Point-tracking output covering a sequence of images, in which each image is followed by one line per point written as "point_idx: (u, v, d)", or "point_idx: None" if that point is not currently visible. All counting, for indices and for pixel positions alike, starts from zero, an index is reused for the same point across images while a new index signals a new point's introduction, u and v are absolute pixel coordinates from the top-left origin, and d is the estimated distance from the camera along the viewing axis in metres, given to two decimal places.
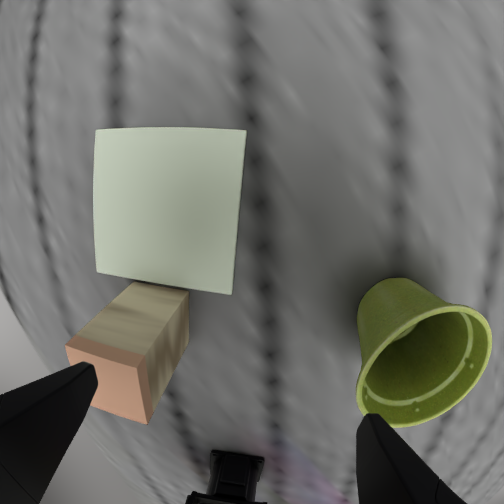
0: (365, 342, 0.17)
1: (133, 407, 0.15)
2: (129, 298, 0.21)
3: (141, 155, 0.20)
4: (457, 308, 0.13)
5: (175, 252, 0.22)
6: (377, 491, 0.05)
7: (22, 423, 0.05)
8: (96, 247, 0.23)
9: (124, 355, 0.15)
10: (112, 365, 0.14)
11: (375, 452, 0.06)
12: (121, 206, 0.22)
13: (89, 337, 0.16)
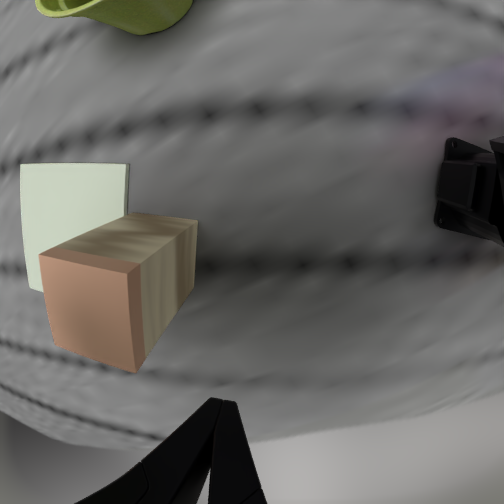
0: (105, 17, 0.11)
1: (98, 284, 0.11)
2: None
3: (37, 248, 0.22)
4: None
5: (93, 222, 0.20)
6: None
7: (176, 491, 0.05)
8: None
9: None
10: (47, 288, 0.11)
11: (213, 440, 0.07)
12: None
13: None
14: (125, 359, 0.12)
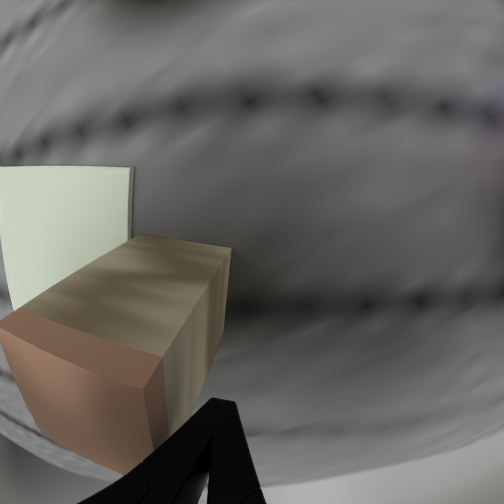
0: None
1: (92, 391, 0.06)
2: None
3: (20, 272, 0.17)
4: None
5: (86, 245, 0.15)
6: None
7: (178, 491, 0.05)
8: None
9: None
10: (17, 372, 0.06)
11: None
12: None
13: None
14: None
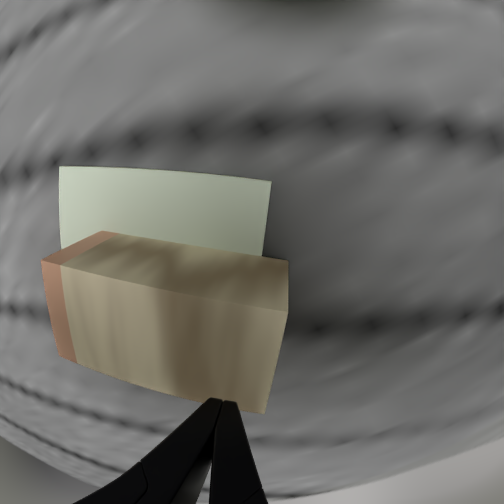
0: None
1: None
2: None
3: None
4: None
5: None
6: None
7: (175, 491, 0.05)
8: None
9: None
10: None
11: None
12: None
13: None
14: None
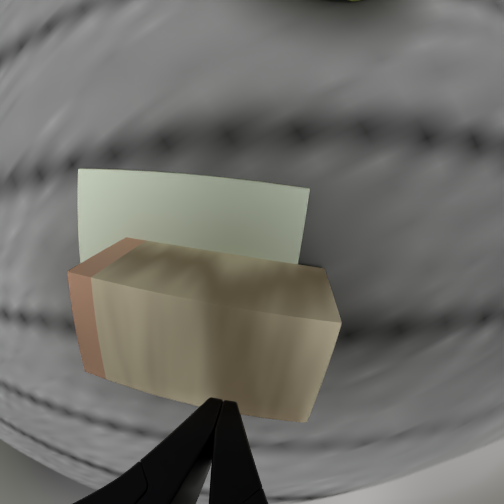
0: None
1: None
2: None
3: None
4: None
5: None
6: None
7: (176, 491, 0.05)
8: None
9: None
10: None
11: None
12: None
13: None
14: None
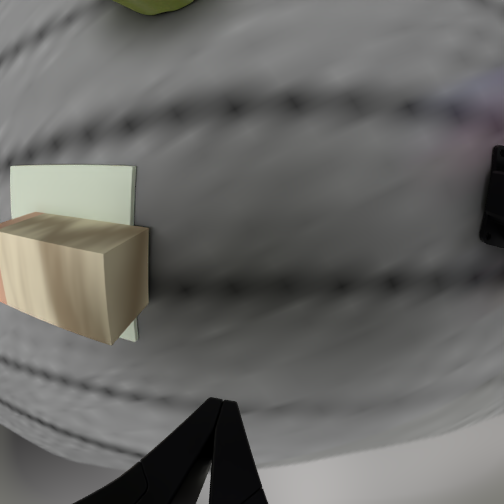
0: None
1: None
2: None
3: None
4: None
5: None
6: None
7: (175, 491, 0.05)
8: None
9: None
10: None
11: None
12: None
13: None
14: None
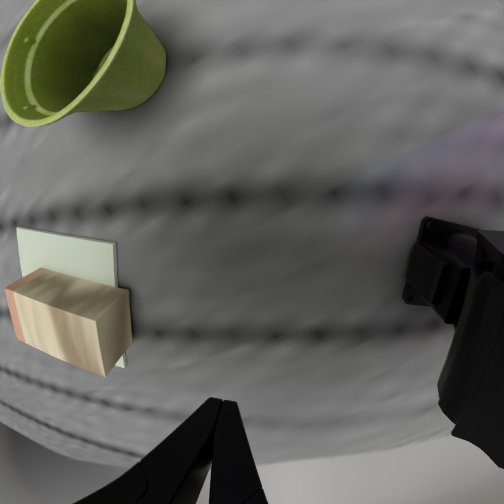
0: None
1: None
2: None
3: None
4: (3, 61, 0.09)
5: None
6: None
7: (175, 491, 0.05)
8: None
9: None
10: None
11: None
12: None
13: None
14: None
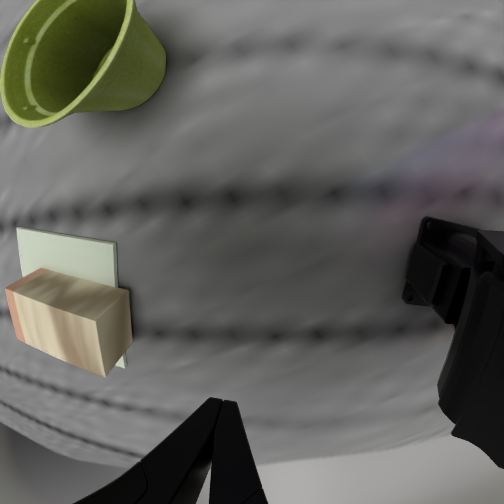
0: None
1: None
2: None
3: None
4: (3, 62, 0.10)
5: None
6: None
7: (176, 491, 0.05)
8: None
9: None
10: None
11: None
12: None
13: None
14: None
